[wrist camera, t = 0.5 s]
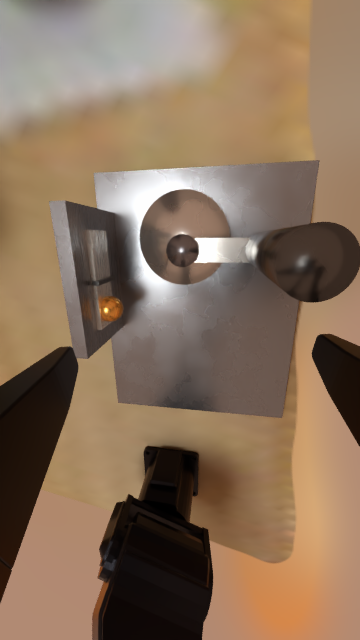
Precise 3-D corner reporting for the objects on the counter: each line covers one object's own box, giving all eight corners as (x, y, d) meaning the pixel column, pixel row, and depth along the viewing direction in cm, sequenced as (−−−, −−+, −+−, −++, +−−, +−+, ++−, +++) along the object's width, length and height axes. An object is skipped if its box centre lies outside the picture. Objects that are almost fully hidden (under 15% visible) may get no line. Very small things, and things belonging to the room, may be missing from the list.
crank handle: (274, 283, 20) (343, 341, 9) (146, 281, 22) (66, 328, 10) (284, 187, 18) (395, 100, 7) (141, 193, 19) (32, 131, 8)
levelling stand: (279, 409, 25) (305, 485, 18) (122, 396, 28) (84, 456, 20) (313, 165, 18) (380, 111, 11) (100, 176, 21) (30, 140, 13)
